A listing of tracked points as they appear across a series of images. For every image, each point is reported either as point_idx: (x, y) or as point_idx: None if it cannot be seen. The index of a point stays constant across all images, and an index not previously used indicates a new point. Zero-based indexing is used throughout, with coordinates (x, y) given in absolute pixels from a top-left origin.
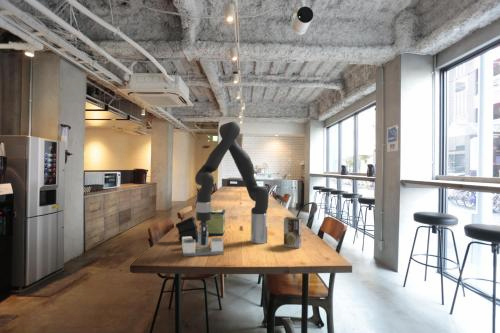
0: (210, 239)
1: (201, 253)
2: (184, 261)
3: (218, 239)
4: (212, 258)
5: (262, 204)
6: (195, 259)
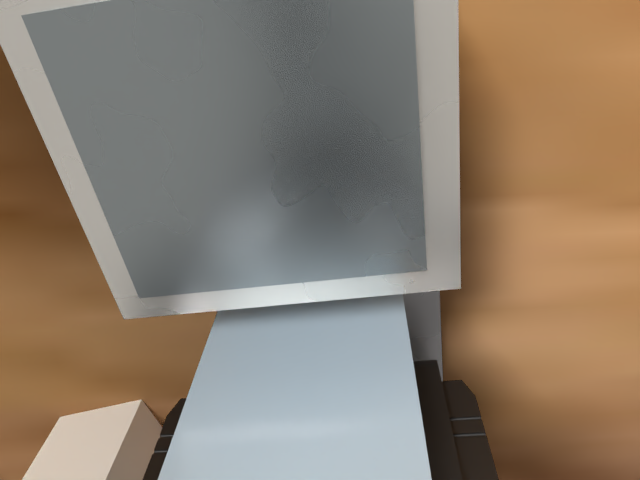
0: (144, 305)
1: (438, 311)
2: (607, 437)
3: (240, 100)
4: (617, 129)
5: None
6: (577, 347)
